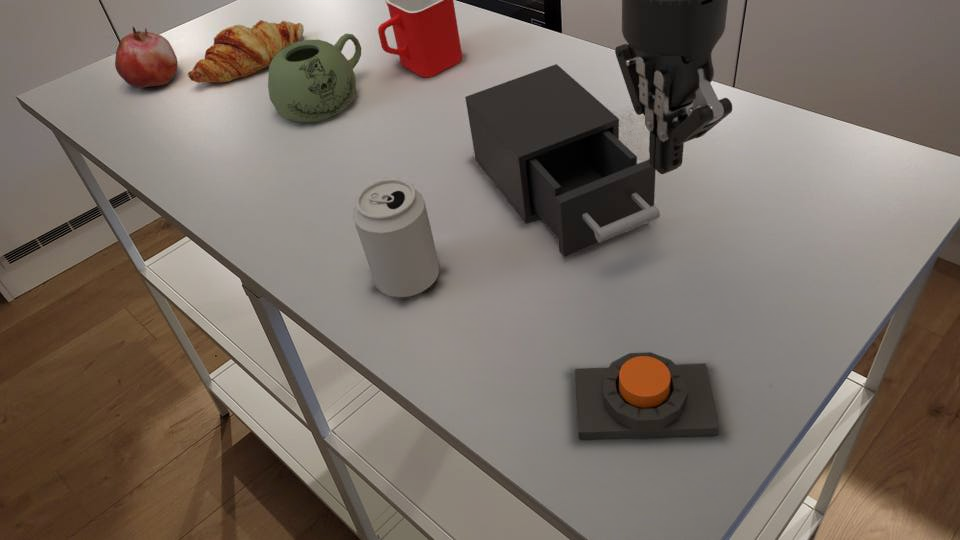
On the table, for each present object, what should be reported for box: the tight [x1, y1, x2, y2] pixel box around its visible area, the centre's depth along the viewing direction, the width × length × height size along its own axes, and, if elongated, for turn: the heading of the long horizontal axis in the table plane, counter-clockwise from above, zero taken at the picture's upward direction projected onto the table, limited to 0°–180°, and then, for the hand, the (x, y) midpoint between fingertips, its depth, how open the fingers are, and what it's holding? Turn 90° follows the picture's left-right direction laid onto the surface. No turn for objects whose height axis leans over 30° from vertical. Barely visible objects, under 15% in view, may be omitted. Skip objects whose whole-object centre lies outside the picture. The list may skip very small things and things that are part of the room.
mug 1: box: [267, 33, 362, 123], centre depth 111 cm, size 16×13×9 cm
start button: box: [619, 356, 671, 408], centre depth 67 cm, size 4×4×2 cm
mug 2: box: [377, 0, 463, 78], centre depth 114 cm, size 12×8×11 cm
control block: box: [574, 351, 720, 440], centre depth 68 cm, size 12×7×3 cm, turn 87°
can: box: [352, 177, 440, 298], centre depth 80 cm, size 8×8×12 cm
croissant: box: [187, 19, 305, 84], centre depth 123 cm, size 21×10×8 cm, turn 134°
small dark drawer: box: [525, 129, 661, 258], centre depth 84 cm, size 18×11×8 cm, turn 24°
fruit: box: [114, 26, 179, 89], centre depth 121 cm, size 9×10×10 cm
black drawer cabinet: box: [464, 63, 620, 224], centre depth 91 cm, size 15×13×10 cm
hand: (665, 166), depth 66 cm, fingers closed
